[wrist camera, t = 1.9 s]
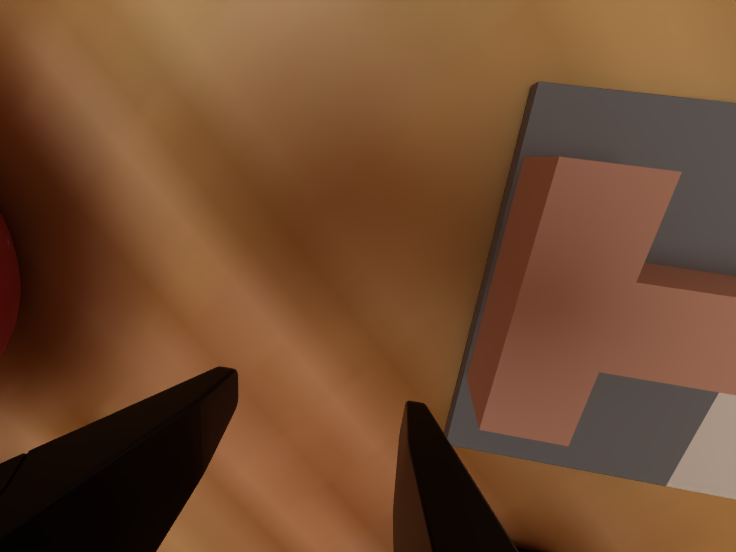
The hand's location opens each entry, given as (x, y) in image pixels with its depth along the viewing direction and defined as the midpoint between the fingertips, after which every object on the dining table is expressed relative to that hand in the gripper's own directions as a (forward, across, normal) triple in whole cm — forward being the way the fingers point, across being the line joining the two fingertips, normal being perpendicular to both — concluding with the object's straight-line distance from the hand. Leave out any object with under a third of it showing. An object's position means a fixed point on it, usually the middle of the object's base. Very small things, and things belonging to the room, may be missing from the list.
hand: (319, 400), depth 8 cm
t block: (+11, -12, 0) cm, 16 cm away
